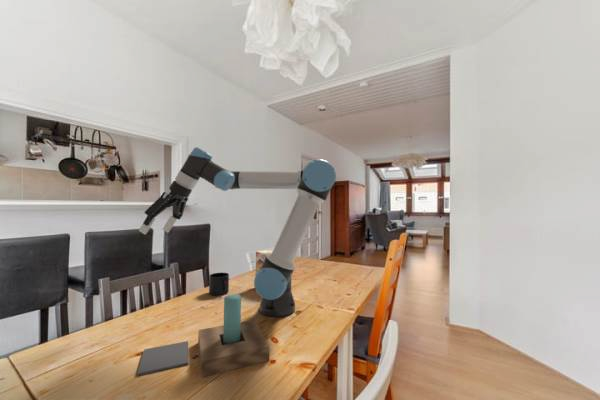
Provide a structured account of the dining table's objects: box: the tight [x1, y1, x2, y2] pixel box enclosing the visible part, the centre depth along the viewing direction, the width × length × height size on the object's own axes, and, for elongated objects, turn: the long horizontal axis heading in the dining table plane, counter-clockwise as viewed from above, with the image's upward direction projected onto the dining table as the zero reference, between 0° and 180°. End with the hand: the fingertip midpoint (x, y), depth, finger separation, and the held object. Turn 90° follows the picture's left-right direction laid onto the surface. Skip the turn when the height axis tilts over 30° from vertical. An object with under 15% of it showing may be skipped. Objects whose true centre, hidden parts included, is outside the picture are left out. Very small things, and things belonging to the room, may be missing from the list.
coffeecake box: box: [255, 249, 273, 275], centre depth 135 cm, size 15×7×20 cm, turn 50°
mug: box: [208, 272, 230, 297], centre depth 126 cm, size 9×12×9 cm
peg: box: [223, 294, 242, 345], centre depth 76 cm, size 5×5×16 cm
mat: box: [136, 340, 189, 377], centre depth 72 cm, size 12×12×1 cm
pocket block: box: [197, 319, 271, 378], centre depth 76 cm, size 18×18×4 cm
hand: (154, 231), depth 97 cm, fingers open, 13 cm apart
